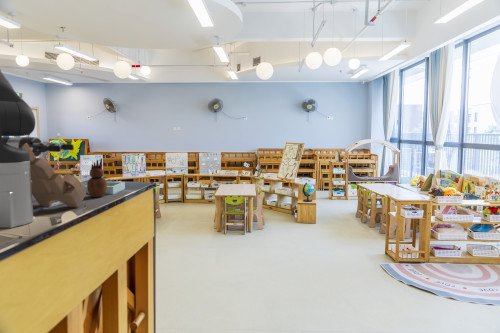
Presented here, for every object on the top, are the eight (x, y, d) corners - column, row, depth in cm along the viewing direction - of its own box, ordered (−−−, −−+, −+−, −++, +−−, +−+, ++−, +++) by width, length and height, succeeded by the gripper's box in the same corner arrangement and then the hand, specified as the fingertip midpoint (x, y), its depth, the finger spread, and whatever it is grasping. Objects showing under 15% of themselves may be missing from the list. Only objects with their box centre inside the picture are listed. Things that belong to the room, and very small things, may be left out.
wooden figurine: (109, 195, 125) (108, 158, 124) (101, 198, 120) (100, 159, 118) (93, 194, 126) (92, 157, 124) (84, 197, 120) (83, 158, 119)
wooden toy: (88, 193, 110) (56, 135, 93) (78, 207, 105) (43, 149, 88) (46, 191, 111) (8, 134, 95) (35, 206, 106) (-8, 148, 90)
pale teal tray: (113, 194, 128) (113, 186, 127) (83, 193, 128) (83, 186, 127) (124, 188, 140) (124, 182, 139) (98, 188, 140) (97, 181, 139)
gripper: (10, 137, 113) (55, 138, 113) (36, 136, 127) (76, 137, 127) (11, 158, 114) (56, 159, 114) (37, 154, 128) (77, 156, 128)
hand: (66, 148), depth 121 cm, fingers open, 8 cm apart
